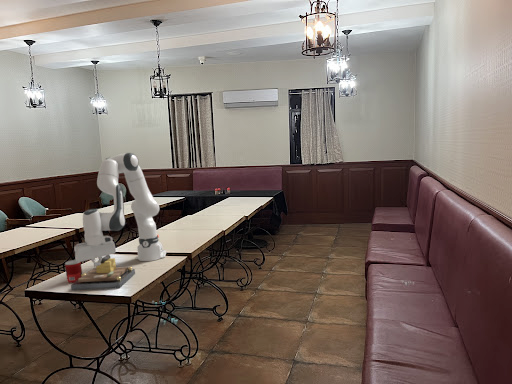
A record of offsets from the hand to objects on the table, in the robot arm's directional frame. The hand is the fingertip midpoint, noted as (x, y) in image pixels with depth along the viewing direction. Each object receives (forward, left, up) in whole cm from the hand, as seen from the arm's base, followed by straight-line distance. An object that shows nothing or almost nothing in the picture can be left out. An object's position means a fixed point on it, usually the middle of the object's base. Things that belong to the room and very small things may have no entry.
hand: (97, 265), depth 211 cm
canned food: (-10, -19, -11) cm, 24 cm away
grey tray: (-6, 0, -11) cm, 13 cm away
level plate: (-6, 0, -8) cm, 10 cm away
